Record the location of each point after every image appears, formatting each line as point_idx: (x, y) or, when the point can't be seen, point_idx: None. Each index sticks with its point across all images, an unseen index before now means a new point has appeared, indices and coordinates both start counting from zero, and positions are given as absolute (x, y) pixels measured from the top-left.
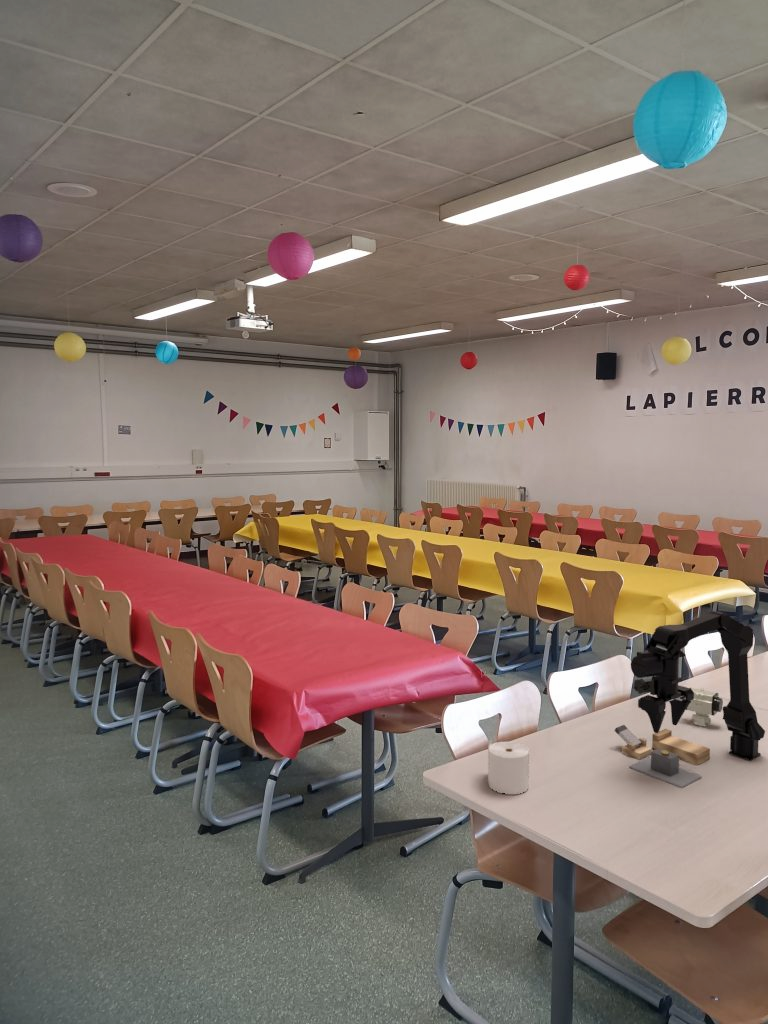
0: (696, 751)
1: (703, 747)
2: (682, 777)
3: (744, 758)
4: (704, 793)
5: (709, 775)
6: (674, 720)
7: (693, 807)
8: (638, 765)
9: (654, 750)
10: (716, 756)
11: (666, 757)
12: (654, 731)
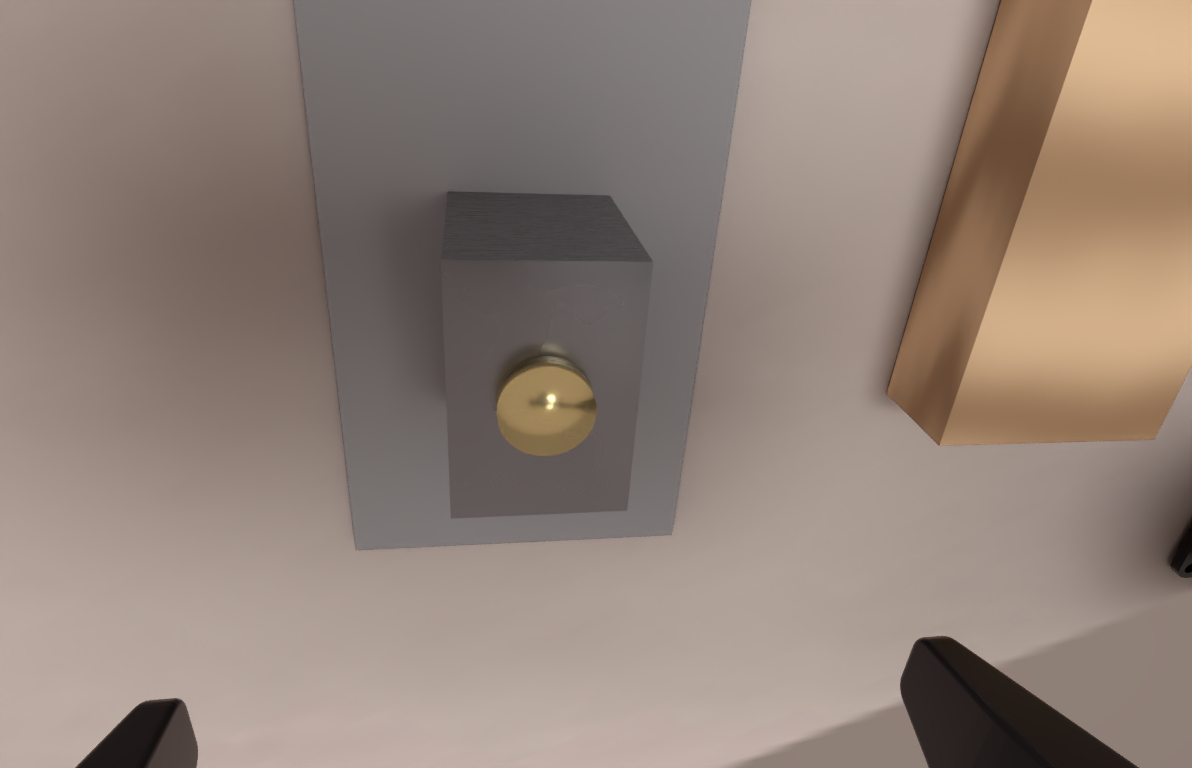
0: (1017, 405)
1: (1154, 395)
2: None
3: (1186, 539)
4: (427, 651)
5: (752, 534)
6: (965, 752)
7: None
8: (416, 31)
9: (524, 264)
10: None
11: (449, 465)
12: (131, 730)
